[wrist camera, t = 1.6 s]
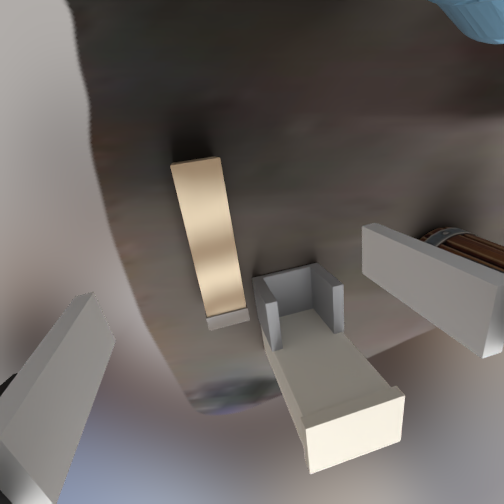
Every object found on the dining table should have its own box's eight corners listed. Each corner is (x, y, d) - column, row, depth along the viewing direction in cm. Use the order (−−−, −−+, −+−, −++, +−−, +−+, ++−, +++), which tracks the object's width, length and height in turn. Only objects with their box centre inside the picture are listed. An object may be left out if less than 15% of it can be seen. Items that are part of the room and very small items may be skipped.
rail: (171, 163, 26) (168, 165, 21) (214, 156, 27) (221, 157, 22) (205, 304, 32) (209, 330, 27) (240, 295, 33) (249, 320, 28)
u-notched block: (250, 278, 32) (300, 372, 18) (318, 262, 33) (410, 339, 20) (262, 352, 36) (310, 474, 23) (322, 335, 38) (400, 440, 24)
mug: (385, 269, 36) (507, 341, 23) (443, 208, 35) (608, 245, 21) (439, 323, 42) (560, 405, 29) (490, 273, 41) (642, 333, 27)
